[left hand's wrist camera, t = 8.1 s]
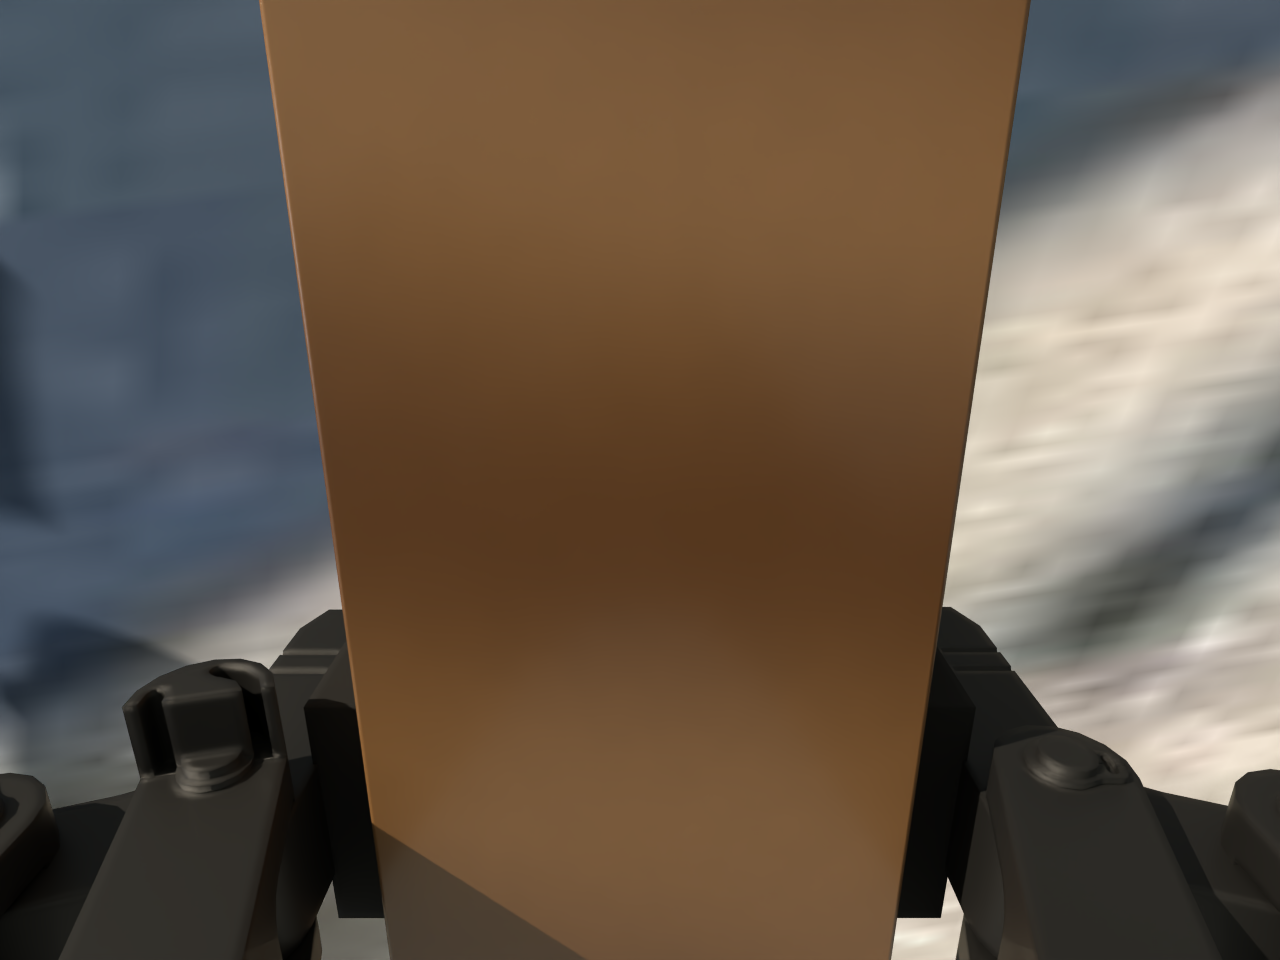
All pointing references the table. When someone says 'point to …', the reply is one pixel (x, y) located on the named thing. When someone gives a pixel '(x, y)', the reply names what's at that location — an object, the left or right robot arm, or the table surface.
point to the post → (642, 445)
